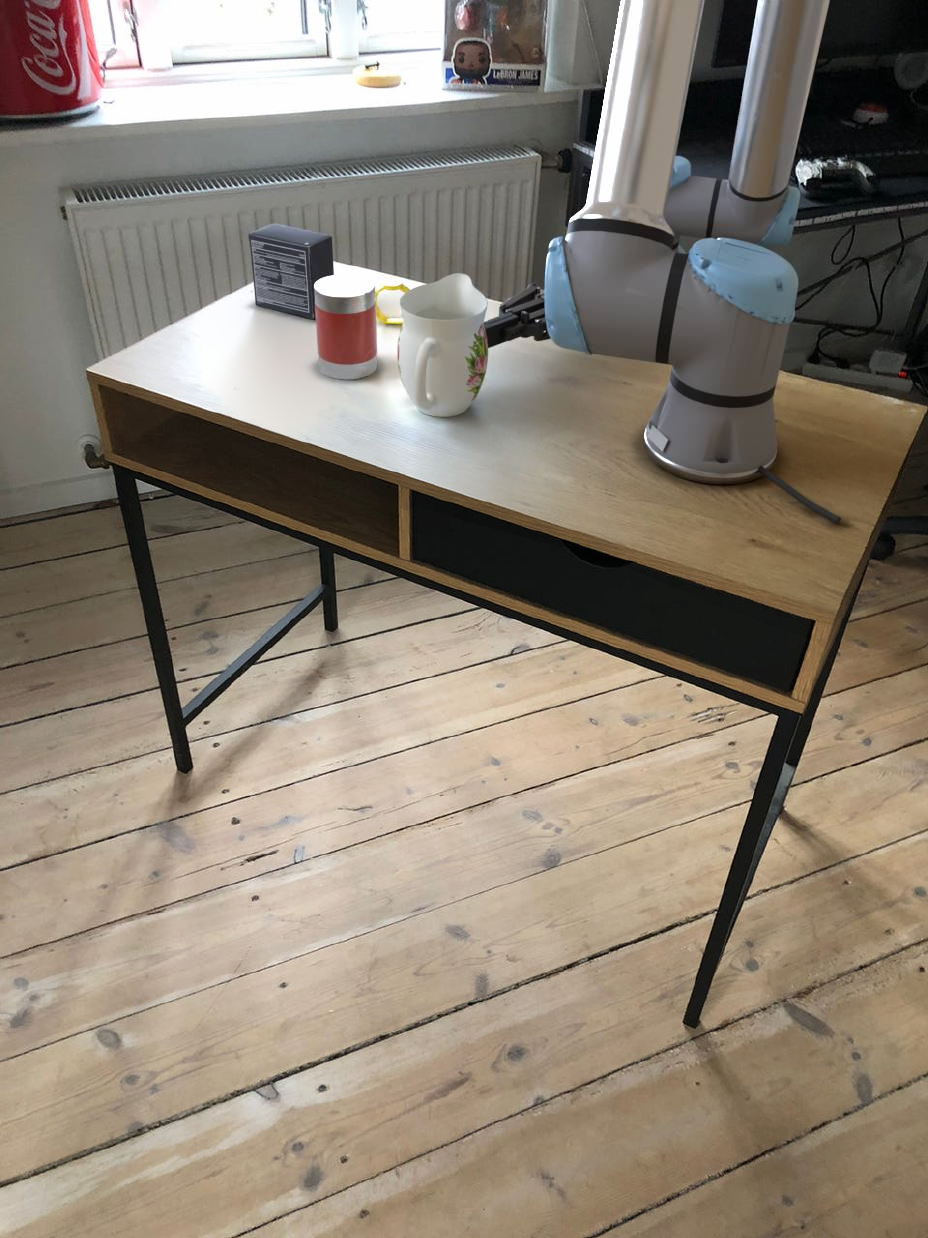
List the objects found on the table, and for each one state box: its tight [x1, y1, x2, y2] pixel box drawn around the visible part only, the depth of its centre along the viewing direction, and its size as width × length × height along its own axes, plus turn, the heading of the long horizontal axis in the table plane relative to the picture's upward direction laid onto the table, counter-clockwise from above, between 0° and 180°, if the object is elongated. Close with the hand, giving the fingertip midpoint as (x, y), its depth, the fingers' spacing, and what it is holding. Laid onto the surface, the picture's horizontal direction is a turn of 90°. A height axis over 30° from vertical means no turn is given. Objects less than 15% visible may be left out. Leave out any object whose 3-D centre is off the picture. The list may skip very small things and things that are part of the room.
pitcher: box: [396, 272, 489, 418], centre depth 123 cm, size 11×18×14 cm, turn 165°
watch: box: [375, 278, 411, 325], centre depth 145 cm, size 6×3×6 cm, turn 81°
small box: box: [247, 223, 335, 320], centre depth 148 cm, size 11×6×10 cm, turn 62°
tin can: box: [314, 274, 378, 381], centre depth 132 cm, size 8×8×11 cm
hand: (477, 338), depth 127 cm, fingers closed
